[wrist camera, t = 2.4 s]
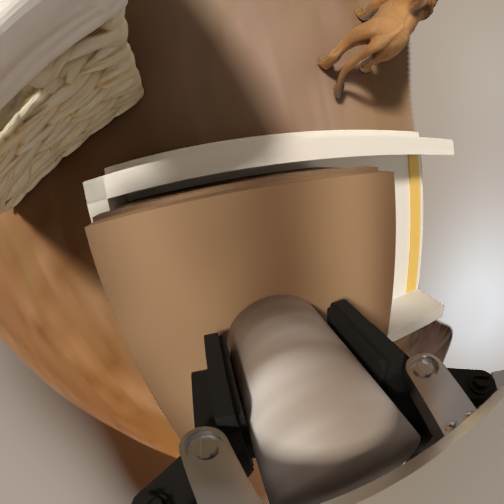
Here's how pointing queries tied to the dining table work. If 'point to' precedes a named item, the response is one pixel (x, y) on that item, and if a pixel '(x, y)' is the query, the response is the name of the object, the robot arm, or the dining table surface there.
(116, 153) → the dining table surface
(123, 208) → the tan block with peg
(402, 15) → the lion figurine
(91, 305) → the dining table surface
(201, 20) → the dining table surface
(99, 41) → the storage basket
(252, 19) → the dining table surface
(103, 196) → the bay
